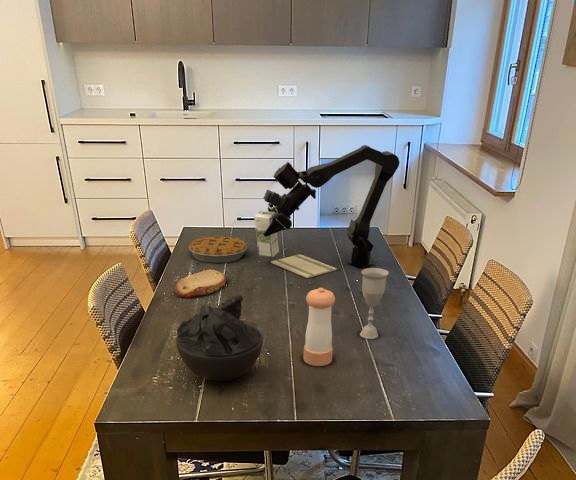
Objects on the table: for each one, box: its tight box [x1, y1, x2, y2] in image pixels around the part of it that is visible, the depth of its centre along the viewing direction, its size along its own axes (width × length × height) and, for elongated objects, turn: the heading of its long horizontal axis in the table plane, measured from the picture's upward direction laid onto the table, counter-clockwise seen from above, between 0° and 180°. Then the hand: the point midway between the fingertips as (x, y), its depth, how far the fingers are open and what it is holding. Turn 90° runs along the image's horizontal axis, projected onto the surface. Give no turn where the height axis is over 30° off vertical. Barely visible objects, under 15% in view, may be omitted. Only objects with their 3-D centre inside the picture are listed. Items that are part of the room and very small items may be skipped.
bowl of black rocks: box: [175, 294, 264, 382], centre depth 136 cm, size 20×20×19 cm
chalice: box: [359, 267, 390, 340], centre depth 157 cm, size 7×7×18 cm
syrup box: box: [254, 210, 280, 258], centre depth 202 cm, size 6×6×14 cm
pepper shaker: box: [302, 287, 336, 367], centre depth 144 cm, size 7×7×19 cm
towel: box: [270, 253, 338, 279], centre depth 210 cm, size 14×20×1 cm
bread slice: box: [174, 269, 227, 299], centre depth 190 cm, size 18×18×4 cm
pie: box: [188, 235, 248, 264], centre depth 218 cm, size 22×22×5 cm
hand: (262, 232), depth 201 cm, fingers closed on syrup box, 8 cm apart
